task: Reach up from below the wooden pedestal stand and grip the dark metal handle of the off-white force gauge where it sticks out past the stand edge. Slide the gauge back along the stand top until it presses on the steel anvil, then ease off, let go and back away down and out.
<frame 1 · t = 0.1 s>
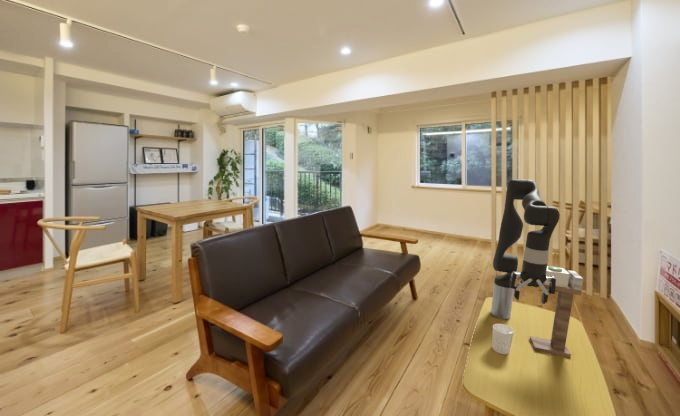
hand: (529, 301, 113), 29 cm above the table, tool pointing down, fingers open, 8 cm apart
white cup: (500, 350, 131), on the table
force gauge: (553, 282, 128), point 30 cm above the table, touching wooden pedestal stand
wooden pedestal stand: (549, 347, 132), on the table
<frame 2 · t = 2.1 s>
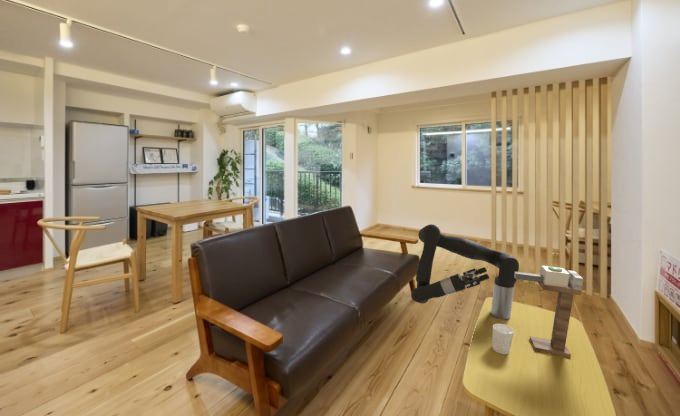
hand: (487, 272, 136), 31 cm above the table, tool pointing upward, fingers open, 8 cm apart
nothing on the table moved.
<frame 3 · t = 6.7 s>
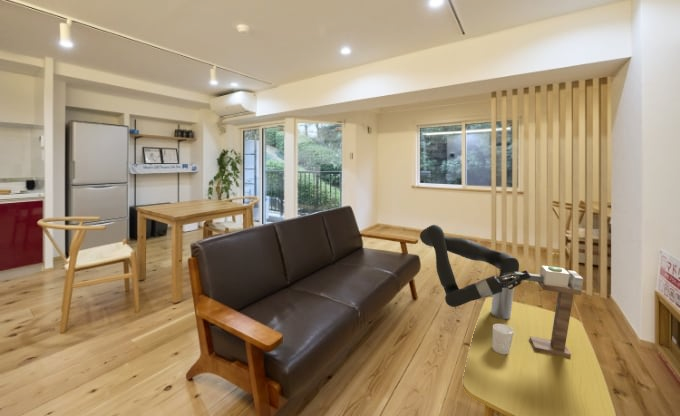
hand: (528, 273, 131), 33 cm above the table, tool pointing upward, fingers closed on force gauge, 2 cm apart
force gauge: (553, 282, 128), point 30 cm above the table, touching gripper, wooden pedestal stand
everything else where it was.
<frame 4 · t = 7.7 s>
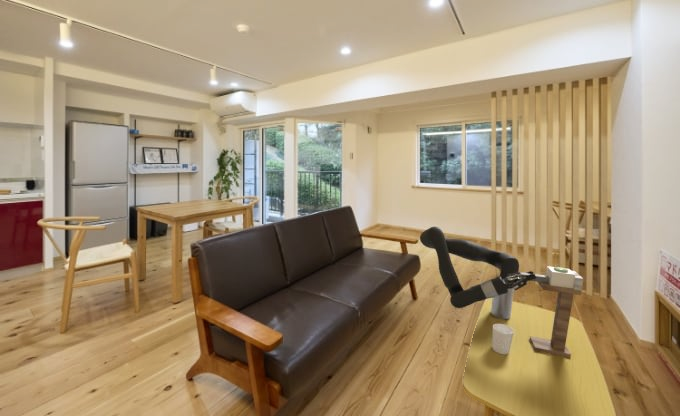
hand: (534, 274, 130), 33 cm above the table, tool pointing upward, fingers closed on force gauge, 2 cm apart
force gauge: (558, 283, 127), point 30 cm above the table, touching gripper, wooden pedestal stand
everything else where it was.
when the fingers open (33 cm above the table, at t = 8.9 s): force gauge stays where it is, resting on wooden pedestal stand.
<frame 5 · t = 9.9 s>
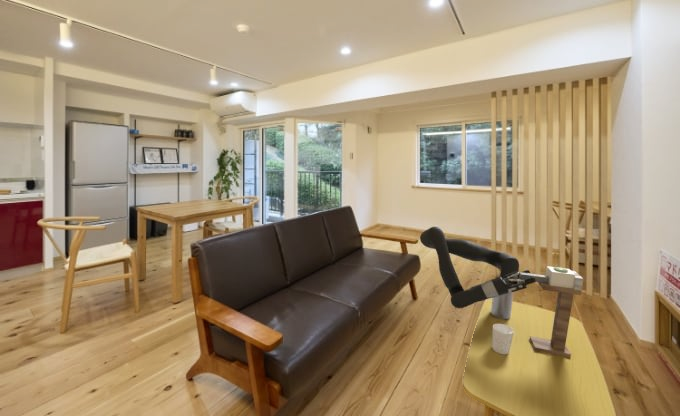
hand: (532, 275, 130), 32 cm above the table, tool pointing upward, fingers open, 8 cm apart
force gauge: (558, 283, 127), point 30 cm above the table, touching wooden pedestal stand
everything else where it was.
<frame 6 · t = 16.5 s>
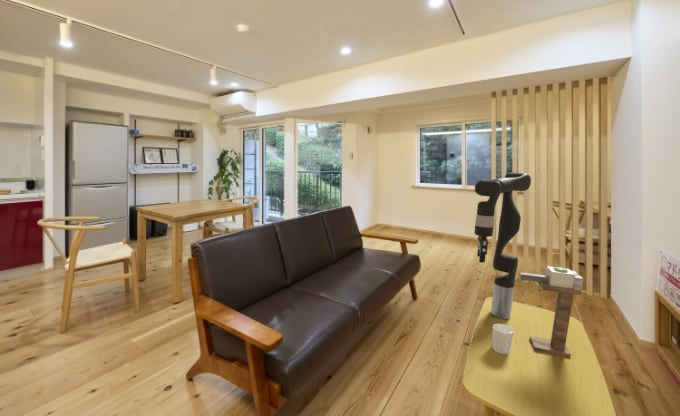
hand: (480, 259, 138), 36 cm above the table, tool pointing down, fingers open, 8 cm apart
nothing on the table moved.
at the end: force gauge 0.1 cm from the target spot, point 30.0 cm above the table; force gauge tilted 0°; the gripper is holding nothing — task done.
